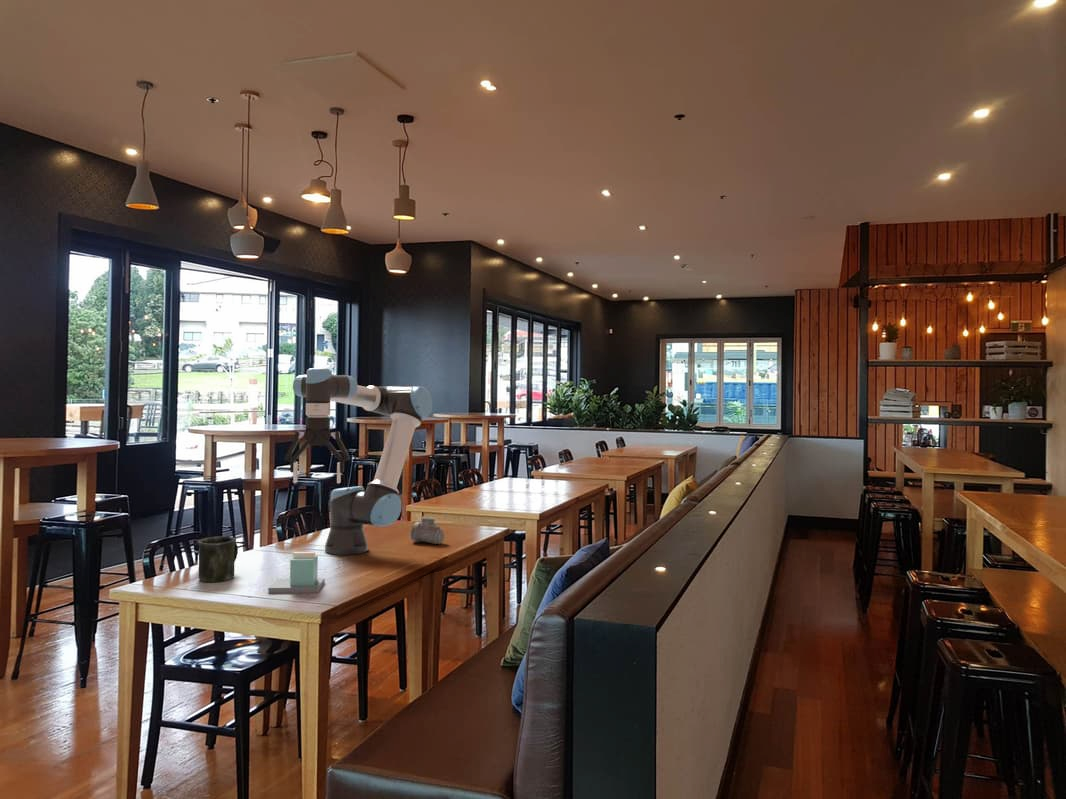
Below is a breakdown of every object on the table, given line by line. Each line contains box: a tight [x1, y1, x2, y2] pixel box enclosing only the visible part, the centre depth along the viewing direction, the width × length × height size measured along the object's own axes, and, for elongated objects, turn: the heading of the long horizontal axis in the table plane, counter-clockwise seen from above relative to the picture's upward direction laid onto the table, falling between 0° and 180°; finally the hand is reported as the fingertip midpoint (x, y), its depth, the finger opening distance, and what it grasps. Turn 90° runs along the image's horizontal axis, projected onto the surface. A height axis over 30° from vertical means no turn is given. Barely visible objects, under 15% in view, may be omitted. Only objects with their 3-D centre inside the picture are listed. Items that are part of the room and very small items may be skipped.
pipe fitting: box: [410, 516, 445, 545], centre depth 295 cm, size 12×8×10 cm, turn 62°
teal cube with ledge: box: [289, 551, 319, 586], centre depth 228 cm, size 7×7×9 cm
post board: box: [267, 577, 326, 594], centre depth 228 cm, size 11×14×6 cm
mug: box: [197, 536, 239, 583], centre depth 238 cm, size 11×15×12 cm
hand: (317, 482), depth 247 cm, fingers open, 13 cm apart
